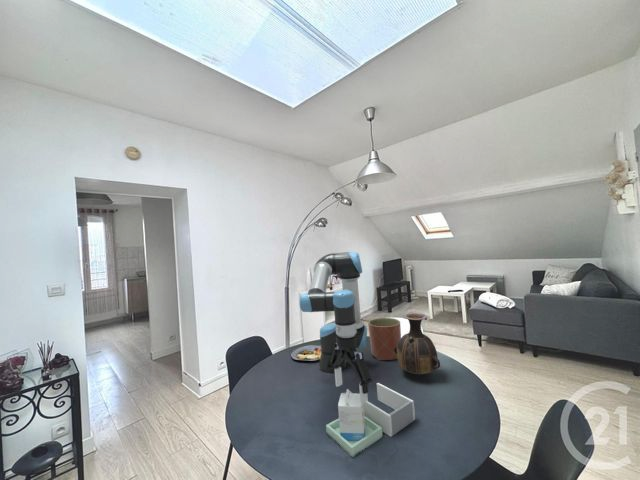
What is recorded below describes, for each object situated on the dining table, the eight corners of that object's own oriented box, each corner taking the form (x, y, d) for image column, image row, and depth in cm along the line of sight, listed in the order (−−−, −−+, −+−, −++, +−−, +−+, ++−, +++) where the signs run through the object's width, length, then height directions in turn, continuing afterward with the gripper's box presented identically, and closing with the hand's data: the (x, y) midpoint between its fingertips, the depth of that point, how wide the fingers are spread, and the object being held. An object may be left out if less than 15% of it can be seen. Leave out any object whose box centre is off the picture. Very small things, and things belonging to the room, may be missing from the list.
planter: (407, 360, 148) (404, 325, 148) (373, 363, 148) (371, 327, 149) (397, 347, 167) (395, 316, 167) (368, 349, 167) (365, 318, 168)
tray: (326, 433, 94) (326, 425, 95) (355, 416, 103) (354, 409, 103) (352, 457, 83) (351, 448, 83) (382, 436, 91) (381, 427, 91)
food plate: (335, 348, 172) (334, 343, 173) (324, 365, 150) (323, 358, 151) (300, 347, 181) (300, 342, 181) (285, 363, 159) (285, 357, 159)
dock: (355, 412, 105) (354, 394, 105) (379, 398, 113) (378, 382, 113) (390, 437, 90) (389, 416, 91) (415, 419, 98) (413, 400, 99)
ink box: (364, 442, 88) (361, 402, 88) (340, 440, 90) (337, 400, 90) (365, 424, 96) (362, 388, 97) (343, 423, 98) (340, 387, 99)
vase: (388, 370, 138) (384, 313, 139) (417, 361, 145) (412, 308, 146) (420, 391, 117) (414, 324, 118) (451, 379, 124) (446, 316, 125)
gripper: (318, 328, 102) (322, 382, 102) (363, 347, 81) (368, 415, 81) (333, 324, 106) (337, 375, 106) (379, 340, 86) (384, 404, 86)
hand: (350, 393), depth 94 cm, fingers open, 13 cm apart
